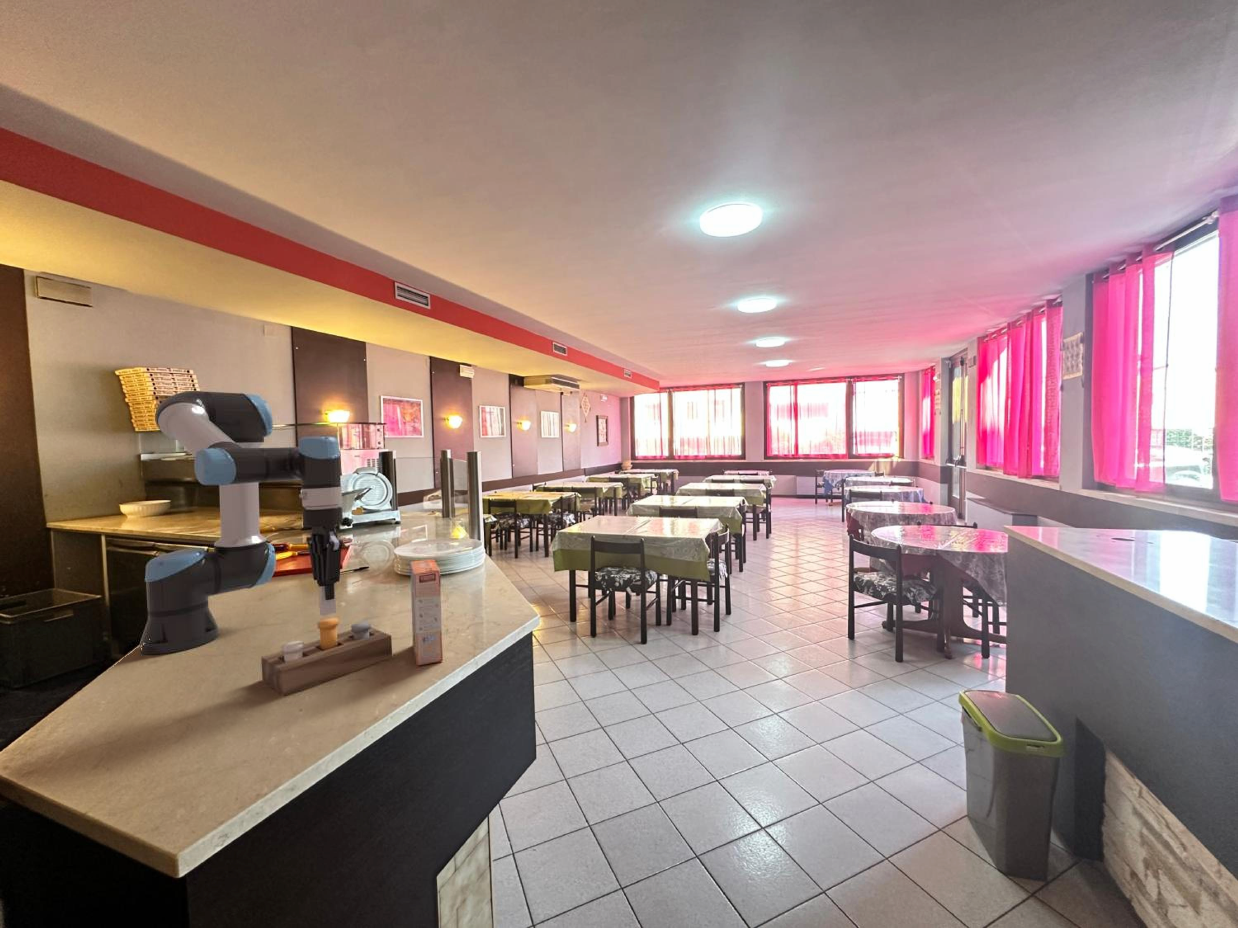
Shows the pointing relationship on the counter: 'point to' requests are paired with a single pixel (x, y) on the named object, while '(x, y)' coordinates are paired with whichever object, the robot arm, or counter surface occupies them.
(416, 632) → the cracker box
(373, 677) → the counter surface
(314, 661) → the socket board
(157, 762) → the counter surface
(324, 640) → the orange plug
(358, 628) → the slate plug
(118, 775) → the counter surface
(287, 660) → the ivory plug
